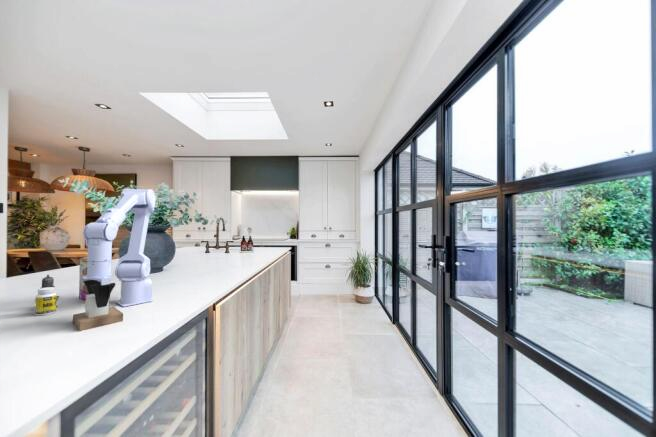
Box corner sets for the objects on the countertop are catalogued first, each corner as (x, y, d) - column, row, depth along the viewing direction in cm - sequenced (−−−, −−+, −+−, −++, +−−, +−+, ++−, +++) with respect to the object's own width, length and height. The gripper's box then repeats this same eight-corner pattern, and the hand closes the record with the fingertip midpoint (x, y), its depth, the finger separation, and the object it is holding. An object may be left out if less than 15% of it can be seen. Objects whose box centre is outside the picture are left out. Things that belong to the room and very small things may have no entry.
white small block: (104, 310, 85) (104, 292, 85) (108, 313, 82) (108, 294, 82) (85, 314, 82) (85, 295, 82) (88, 318, 79) (89, 297, 79)
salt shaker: (31, 309, 92) (32, 275, 92) (53, 304, 97) (54, 272, 97) (39, 312, 90) (40, 276, 90) (62, 306, 95) (63, 273, 95)
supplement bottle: (42, 316, 86) (42, 290, 86) (31, 315, 87) (31, 289, 87) (59, 311, 90) (60, 287, 90) (49, 310, 91) (49, 286, 91)
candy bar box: (77, 299, 104) (78, 257, 104) (92, 296, 109) (93, 256, 109) (96, 302, 100) (97, 259, 100) (110, 299, 105) (111, 258, 105)
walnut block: (113, 315, 89) (113, 306, 89) (122, 322, 83) (123, 313, 83) (72, 324, 81) (73, 314, 81) (79, 333, 75) (80, 322, 75)
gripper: (77, 259, 84) (76, 302, 83) (88, 265, 75) (87, 312, 75) (105, 257, 89) (104, 297, 89) (119, 262, 80) (117, 306, 80)
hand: (98, 304), depth 82 cm, fingers open, 7 cm apart
